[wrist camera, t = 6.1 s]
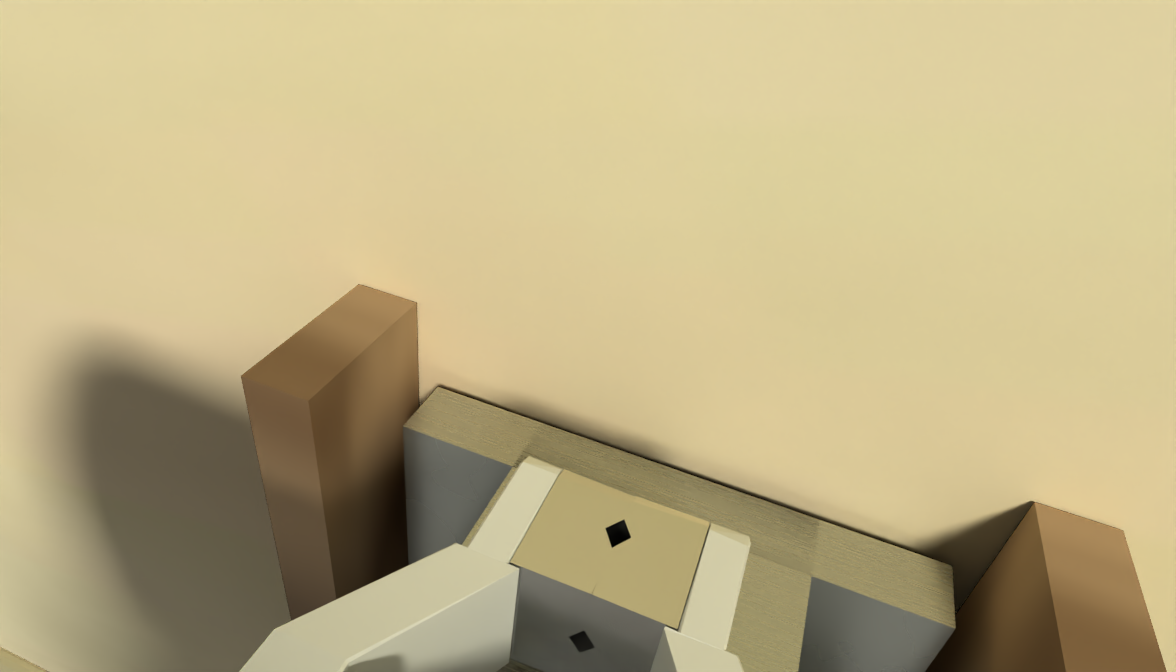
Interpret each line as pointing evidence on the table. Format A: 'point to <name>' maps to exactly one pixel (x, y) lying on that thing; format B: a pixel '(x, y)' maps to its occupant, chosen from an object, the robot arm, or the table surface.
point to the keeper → (777, 535)
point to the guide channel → (379, 520)
